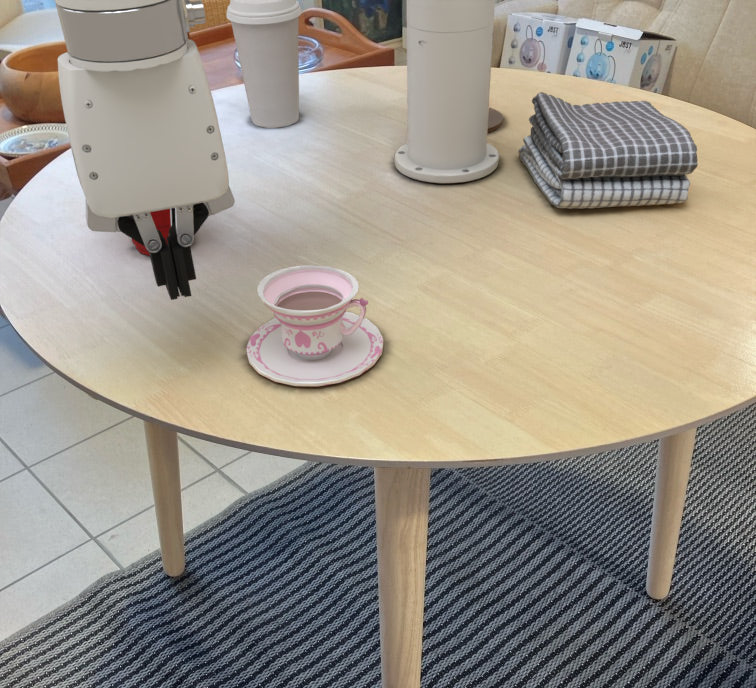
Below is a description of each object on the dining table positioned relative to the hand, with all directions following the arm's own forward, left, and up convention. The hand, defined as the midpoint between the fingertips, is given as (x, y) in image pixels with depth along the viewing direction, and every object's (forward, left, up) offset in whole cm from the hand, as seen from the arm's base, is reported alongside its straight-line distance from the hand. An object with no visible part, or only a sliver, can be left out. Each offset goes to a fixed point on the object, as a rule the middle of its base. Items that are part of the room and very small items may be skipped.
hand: (177, 289), depth 67 cm
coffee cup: (-57, +23, -8) cm, 62 cm away
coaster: (-45, +46, -8) cm, 65 cm away
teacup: (0, +11, -8) cm, 14 cm away
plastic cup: (-26, +2, -8) cm, 27 cm away
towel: (-21, +52, -8) cm, 56 cm away
